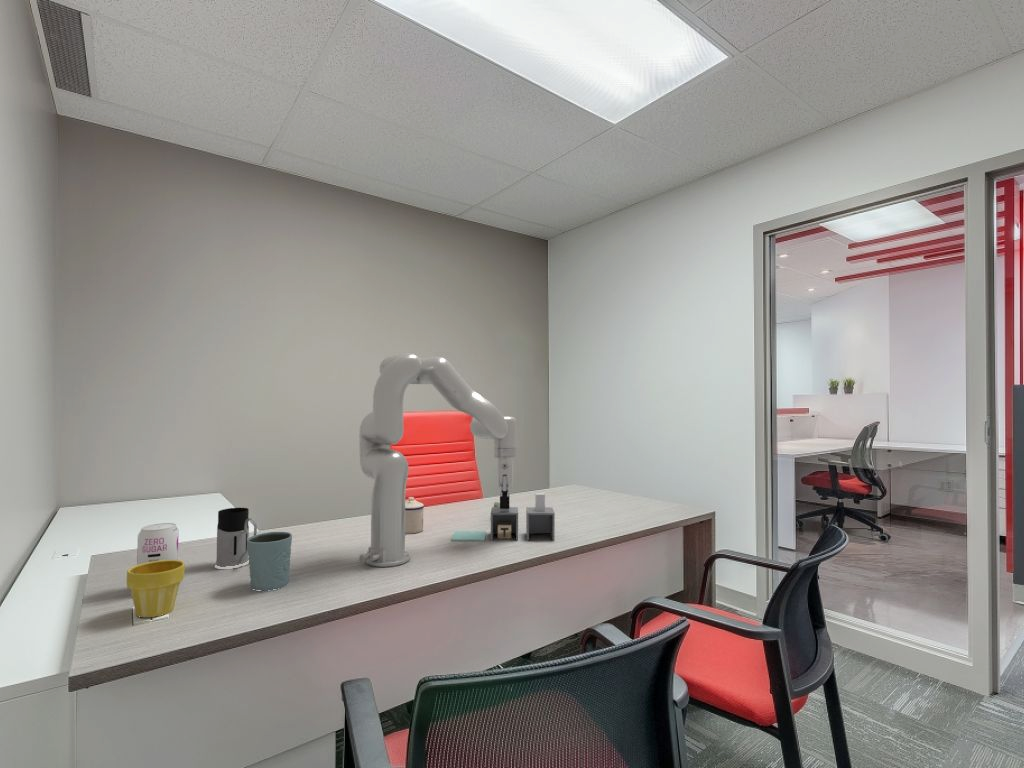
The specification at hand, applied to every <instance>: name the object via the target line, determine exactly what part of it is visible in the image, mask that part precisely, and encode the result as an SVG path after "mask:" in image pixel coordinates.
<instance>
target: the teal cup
mask: <svg viewBox="0 0 1024 768" xmlns="http://www.w3.org/2000/svg"><path fill="white" fill-rule="evenodd" d="M253 535H254V534H253ZM253 535H252V536H249V538H248V539H247V547H248V558H249V564H248V566H249V567H248V569H249V576H250V577H249V578H250V588H252V589H255V590H261V591H260V592H262V591H264V592H269V591H268V590H273V589H277V590H279V589H278V588H280V589H282V588H281V587H283V588H285V587H287V586H288V585H289V582H290V571H291V569H290V566H291V554H292V548H291V547H292V540H293V534H292V533H291V532H287V531H269V532H263V533H257V534H256V535H254V536H253ZM287 584H288V585H287ZM286 585H287V586H286ZM284 586H285V587H284ZM252 589H251V590H252ZM273 591H274V590H273Z"/></svg>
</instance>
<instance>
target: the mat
mask: <svg viewBox="0 0 1024 768" xmlns="http://www.w3.org/2000/svg"><path fill="white" fill-rule="evenodd" d="M486 534H487V530H454V531H453V534H452V535H451V539H450V541H451V542H485V540H486Z"/></svg>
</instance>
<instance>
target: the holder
mask: <svg viewBox="0 0 1024 768" xmlns="http://www.w3.org/2000/svg"><path fill="white" fill-rule="evenodd" d="M249 511H250V509H249V508H247V507H230V508H224V509H220V510H218V512H217V514H218V515H217V528H216V530H217V531H216V532H217V533H216V559H215V564H216V565H217V566H220V567H226V566H235V565H239V564H243V563H245V562H247V561H248V560H249V556H248V547H247V539H248V538H249V537H250V526H249V522H250V521H252V523H253V535H252V536H254V535H258V533H257V531H258V524H257V521H256V519H255V518H254V517H249V514H250V513H249Z"/></svg>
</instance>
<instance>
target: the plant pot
mask: <svg viewBox="0 0 1024 768" xmlns="http://www.w3.org/2000/svg"><path fill="white" fill-rule="evenodd" d="M185 571H186V564H185V561H182V560H179V559H178V560H160V561H153V562H148V563H143V564H140V565H137V564H136V565H134V566H131V567H130V568H128V570H127V571H126V587H127V588H128V589H130V593H131V597H132V601H133V607H134V611H135V615H136V617H138V616H140V617H152V618H156V617H155V616H157V617H160V616H159V615H161V616H163V615H162V614H164V615H166V614H165V613H167V614H169V613H171V612H172V611H173V610H174V608H175V603H176V600H177V596H178V592H179V587H180V584H181V582H182V581H183V580H184V579H185ZM140 617H139V618H140Z"/></svg>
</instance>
